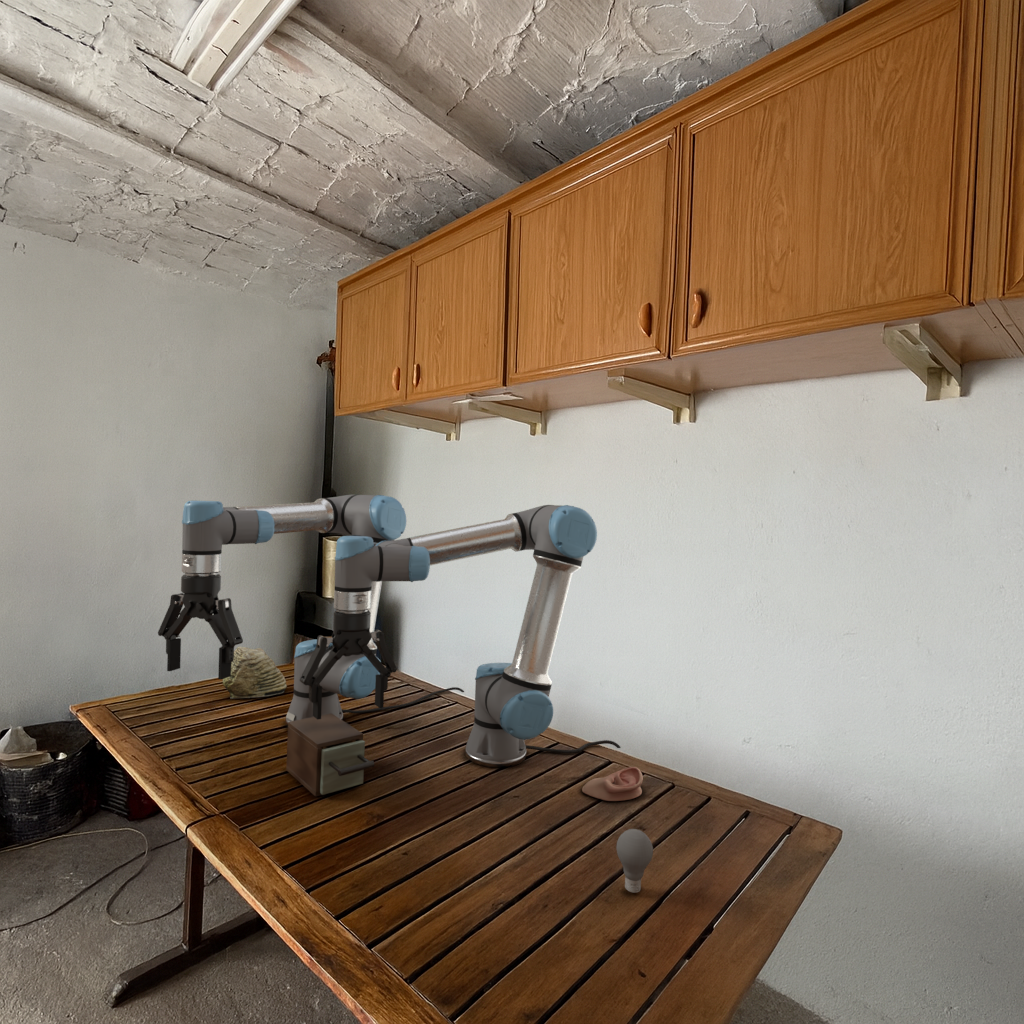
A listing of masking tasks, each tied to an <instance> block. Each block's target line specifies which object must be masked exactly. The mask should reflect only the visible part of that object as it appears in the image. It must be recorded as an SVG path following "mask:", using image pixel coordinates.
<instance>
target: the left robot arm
mask: <svg viewBox="0 0 1024 1024" xmlns="http://www.w3.org/2000/svg"><path fill="white" fill-rule="evenodd" d="M181 524H182V534H181V535H182V536H181V537H182V543H181V549H182V551H181V572H182V573H183V574H182V576H181V578H180V592H181V593H175V594H174V593H173V594H172V595H170V602H169V606H168V608H167V610H166V612H165V615H164V617H163V620H162V622H161V624H160V626H159V629H158V631H157V634H158V637H163V638H164V639H165V654H166V655H167V660H166V661H167V663H166V664H167V665H166V667H167V668H166V672H172V671H176V670H180V669H181V656H182V655H181V654H182V653H181V651H182V638H180V637H181V635H180V634H181V633H182V631H183V630H184V629H185V627H186V626H187V625H188V624H189V622H190V621H191V620H192V619H196V618H197V619H200V620H204V621H205V622H207V623H208V624H209V626H210V628H211V629H212V631H213V632H214V634H215V636H216V637H217V639H218V641H219V643H220V644H221V646H220V647H218V680H222V681H223V679H224V678H227V677H230V676H231V662H233V660H234V651H235V647H236V646H237V645H240V644H243V642H244V639H243V636H242V633H241V631H240V628H239V625H238V622H237V620H236V617H235V614H234V612H233V607H232V599H231V598H229V597H227V598H223V599H219V592H220V591H221V588H222V587H221V585H222V581H221V580H222V576H221V574H219V573H221V572H222V553H223V552H222V551H223V550H222V549H223V546H224V545H225V546H226V545H247V544H248V545H249V544H254V545H257V544H264V543H267V542H270V541H271V539H272V538H273V536H274V535H277V534H287V533H299V532H309V531H316V532H318V533H319V534H326V533H328V534H329V533H330V534H331V533H332V534H342V535H347V536H367V537H371V538H372V539H373V543H374V546H375V545H376V544H378V543H379V542H381V541H386V540H392V541H394V540H398V539H399V538H401V536H402V534H404V532H405V530H406V527H407V514H406V510H405V508H404V507H403V504H402V503H401V502H400V501H399V500H398V499H397V498H395V497H393V496H389V495H383V494H353V493H352V494H345V495H344V494H343V495H339V496H333V497H321V498H317V499H316V500H315V501H314V502H296V503H295V502H293V503H278V504H277V503H275V504H260V505H258V504H257V505H241V506H240V505H239V506H224V504H223V503H222V501H218V500H188V501H186V502H185V503H184V505H183V510H182V520H181ZM382 584H383V581H380V582H376V581H373V582H372V589H371V608H370V609H368V611H370V613H371V619H370V632H374V631H375V628H376V622H377V615H378V609H379V603H380V598H381V597H380V596H381V591H382ZM316 644H317V639H316V638H315V639H308V640H304V641H301V642H299V643H298V644H297V645H296V646H295V652H294V656H293V658H294V670H293V671H294V672H293V695H292V696H293V697H292V699H291V702H290V704H289V708H288V711H287V713H286V715H285V726H286V728H288V722H291V721H296V720H301V719H306V718H311V717H314V716H313V703H312V702H311V701H310V700H309V685H304V684H303V683H302V682H300V678H301V676H302V674H303V672H304V670H305V668H306V666H307V664H308V662H309V660H310V658H311V656H312V654H313V652H314V650H315V648H316ZM367 646H368V647H369V648H370V649H371V651H372V652H373V654H374V655H375V656H376V657H377V650H378V648H377V645H376V643H375V641H373V639H372V638H371V640H370V642H369V643H368V645H367ZM333 647H334V645H333V644H332V643H330V644H329V646H328V647H327V648H326V650H325V653H324V655H323V657H322V659H321V661H320V663H319V665H318V667H317V669H318V668H319V667H320V665H321V664H322V663H323V661H324V660H325V659H326V658H327V656H328V655H329V652H330V651H331V650H332V648H333ZM377 658H378V660H379V661H380V662H381V663H382V661H381V659H379V657H377ZM317 669H316V670H317ZM315 672H316V671H315ZM378 674H379V675H380V673H379V672H378V671H377V669H376V668H375V667H374V666H373V665H372V663H371V662H370V661H369V660H368V659H367V658H366V656H365V655H364V654H363V653H361V654H360V655H351V656H342V657H341V658H340V659H339V660H337V662H336V663H335V664H334V666H333V667H332V668H331V669H330V671H329V672H328V673H327V675H326V676H325V677H324V679H323V680H322V681H321V682H320V684H319V685H320V686H322V707H321V715H326V714H331V713H332V714H333V715H335V716H336V717H338V718H339V719H341V720H343V721H344V713H347V714H365V713H372V712H373V713H374V712H379V711H386V710H393V709H400V708H403V707H408V706H411V705H414V704H417V703H418V702H422V701H423V700H425V699H428V698H430V697H432V696H434V695H438V694H442V693H446V692H449V691H459V692H461V693H465V690H464V689H462V688H460V687H457V686H456V687H455V686H453V687H448V688H445V689H440V690H436V691H433V692H431V693H429V694H426V695H424V696H421V697H419V698H416V699H415V700H412V701H409V702H406V703H402V704H397V705H390V706H383V708H379V707H377V708H376V707H375V708H369V709H359V710H353V709H343V708H342V706H341V702H340V699H339V695H340V696H342V697H345V698H348V699H349V698H350V699H355V700H359V699H365V698H367V697H368V696H369V695H371V694H372V693H373V692H374V691H375V683H376V675H378Z"/></svg>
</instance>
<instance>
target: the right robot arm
mask: <svg viewBox="0 0 1024 1024" xmlns="http://www.w3.org/2000/svg"><path fill="white" fill-rule="evenodd" d="M597 539H598V529H597V525H596V522H595V521H594V518H593V517H592V515H591V514H590V513H589V512H587V511H586V510H585V509H583V508H581V507H577V506H574V505H568V504H565V505H562V504H561V505H560V504H559V505H557V504H544V505H539V506H536V507H532V508H529V509H525V510H522V511H521V510H520V511H518V512H513V513H508V514H507V515H506V517H505V518H504V519H503V518H502V519H498V520H493V521H487V522H483V523H478V524H473V525H467V526H462V527H456V528H452V529H447V530H446V529H445V530H441V531H436V532H431V533H425V534H421V535H415V536H411V537H407V538H400V539H395V540H394V541H392V540H386V541H381V542H379V543H378V544H376V545H375V546H374V543H373V539H372V538H371V537H367V536H351V535H343V536H340V537H338V539H337V540H336V546H335V556H334V589H333V590H334V591H333V592H334V593H333V609H334V610H335V611H334V612H333V617H332V619H333V620H332V635H331V636H324V635H322V634H320V635H317V644H316V648H315V650H314V652H313V654H312V656H311V658H310V660H309V662H308V664H307V666H306V668H305V670H304V672H303V674H302V676H301V678H300V682H302V683H303V684H304V685H309V700H310V701H311V702H312V703H313V716H314V717H315V718H316V719H317V720H318V719H321V707H322V686H320V685H319V684H320V682H321V681H322V680H323V679H324V677H325V676H326V675H327V673H328V672H329V671H330V669H331V668H332V667H333V666H334V664H335V663H336V662H337V660H339V659H340V658H341V657H342V656H351V655H360V654H361V653H363V654H364V655H365V656H366V658H367V659H368V660H369V661H370V662H371V663H372V665H373V666H374V667H375V668H376V669H377V671H378V672H379V673H380V675H379V674H378V675H376V683H375V690H374V706H376V707H377V708H383V707H384V701H385V692H386V691H388V688H389V687H388V686H389V678H390V677H391V675H392V674H393V673H396V672H397V671H398V667H397V666H396V664H395V661H394V659H393V657H392V655H391V652H390V650H389V648H388V646H387V643H386V640H385V632H384V631H382V630H380V629H377V628H376V629H374V632H370V619H371V613H370V611H368V609H370V608H371V589H372V582H373V581H376V582H380V581H382V582H410V583H413V582H421V581H422V582H423V581H425V580H426V579H427V578H428V577H429V574H430V571H431V570H430V569H431V566H434V565H439V564H445V563H449V562H453V561H459V560H463V559H468V558H473V557H478V556H483V555H488V554H493V553H497V552H502V551H506V550H512V551H513V552H522V551H531V550H532V551H533V553H532V557H533V559H534V561H535V563H536V567H535V571H534V574H533V579H532V583H531V586H530V591H529V596H528V599H527V603H526V606H525V611H524V615H523V619H522V622H521V626H520V630H519V635H518V639H517V643H516V646H515V651H514V655H513V659H512V662H489V663H488V662H487V663H483V664H480V665H479V666H477V668H476V672H475V678H474V680H475V685H474V686H475V689H474V693H475V694H474V714H473V716H474V717H473V720H474V721H473V726H472V728H471V731H470V734H469V736H468V739H467V742H466V745H465V757H466V759H468V760H469V761H470V762H471V763H473V764H476V765H480V766H482V767H487V768H508V767H513V766H516V765H519V764H520V763H523V762H524V761H525V759H526V758H527V750H533V751H540V752H547V753H554V754H565V755H567V754H568V755H569V754H577V753H580V752H582V751H583V750H585V749H586V748H588V747H592V746H597V745H598V746H599V745H606V744H607V745H611V746H614V747H615V748H616V749H621V748H622V746H621V745H619V744H618V743H617V742H616V741H613V740H608V739H604V740H596V741H591V742H587V743H584V744H583V745H582V746H580V747H578V748H575V749H557V748H548V747H541V746H535V745H528V744H526V743H525V742H526V741H527V740H532V739H535V738H537V737H538V736H540V735H541V734H543V733H545V732H546V731H547V729H548V728H549V727H550V725H551V723H552V720H553V717H554V705H553V703H552V700H551V698H550V693H551V689H552V685H553V681H552V679H551V677H550V675H549V669H550V665H551V661H552V657H553V653H554V649H555V645H556V641H557V637H558V634H559V629H560V626H561V622H562V617H563V613H564V609H565V605H566V602H567V597H568V593H569V589H570V585H571V581H572V578H573V574H574V573H575V572H577V571H579V570H581V568H582V564H583V562H584V561H583V560H584V557H586V556H587V555H588V554H589V553H591V552H592V550H593V549H594V547H595V546H596V543H597V541H598V540H597ZM371 638H372V639H373V642H374V643H375V645H376V646H377V650H378V652H379V654H380V656H381V659H382V661H383V663H382V661H381V660H380V659H379V660H380V661H381V662H380V661H379V660H378V658H379V657H378V656H377V655H376V656H375V655H374V654H373V652H372V651H371V649H370V648H369V647H368V646H367V645H368V643H369V642H370V640H371ZM330 643H332V644H333V645H334V647H333V648H332V650H331V651H330V652H329V655H328V656H327V658H326V659H325V660H324V661H323V663H322V664H321V665H320V667H319V668H318V669H317V667H318V665H319V663H320V661H321V659H322V657H323V655H324V653H325V650H326V648H327V647H328V646H329V644H330ZM316 669H317V670H316ZM315 671H316V672H315ZM525 740H526V741H525Z"/></svg>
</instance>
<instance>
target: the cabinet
mask: <svg viewBox="0 0 1024 1024" xmlns="http://www.w3.org/2000/svg"><path fill="white" fill-rule="evenodd" d="M352 740H356V741H360V740H363V741H364V733H362V732H361V731H360V730H359V729H356V728H355V727H353V726H352V725H350V724H349V723H348V722H346V721H344V719H343V720H341V719H339V718H338V717H336V716H335V715H333V714H332V713H331V714H326V715H321V719H318V720H317V719H316V718H315V717H311V718H306V719H301V720H296V721H291V722H288V727H287V740H286V741H287V743H286V768H285V770H286V771H287V773H289V774H290V775H291V776H292V777H293V778H294V779H295V780H296V781H298V783H300V785H302V786H303V787H304V788H305V789H307V790H308V792H310V793H311V795H313V796H314V797H320V796H323V795H322V794H321V793H320V776H321V751H322V747H326V746H331V745H335V744H339V743H343V742H348V741H352Z"/></svg>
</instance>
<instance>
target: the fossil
mask: <svg viewBox="0 0 1024 1024" xmlns="http://www.w3.org/2000/svg"><path fill="white" fill-rule="evenodd" d="M222 685H223V687H224V688H225V690H226V691H228V693H229V698H230V699H250V698H264V697H271V696H275V695H281V694H284V693H285V691H286V689H287V687H288V686H287V680H286V678H285V676H284V674H283V673H282V672H281V669H279V668H278V667H277V665H276V663H275V662H274V660H273V659H272V658H271V657H270V656H269V655H268V654H267V653H266V652H265V650H264V649H263V648H260V647H258V648H251V647H247V646H246V647H245V646H238V647H237V648H236V649H234V660H233V662H231V676H230V677H227V678H224V679H222Z"/></svg>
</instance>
